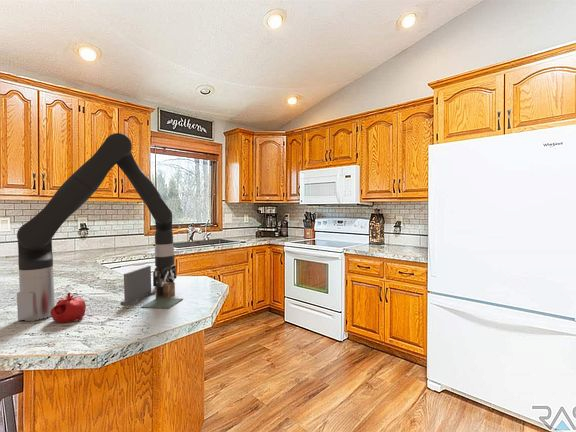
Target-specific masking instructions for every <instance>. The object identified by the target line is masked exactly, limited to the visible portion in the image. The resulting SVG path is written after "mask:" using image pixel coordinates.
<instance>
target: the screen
mask: <svg viewBox="0 0 576 432" xmlns="http://www.w3.org/2000/svg"><path fill="white" fill-rule="evenodd" d="M151 267H152V266H151V265H146V266H143V267H141V268H136V269H134V270H132V271H128V272H126V273H123V291H124V292H123V293H124V299H123V300H122V301H120V305H125V306H129V305H130V306H133V305H135V304H137V301H138V300H140V299H142V298H144V297H147V296H153V295H154V294H155V295H156V290H152V271H151V270H152V268H151Z"/></svg>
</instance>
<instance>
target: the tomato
mask: <svg viewBox="0 0 576 432" xmlns="http://www.w3.org/2000/svg"><path fill="white" fill-rule="evenodd" d="M66 294H67V295H65V296H64V297H65V298H64V297H57V298H56V300H58V299H59V300H58V301H57V302H56V305H55V307H53V308H52V309H51V312H50V313H51V316H50V317H51V318H52V320H53V321H55V322H57V323H62V324H63V323H64V322H65V323H72V321H73V322H75V321H78V320H81V319H83V317H84V316H85V315H86V314H85V313H86V309H87V304H86V302H85V300H84V299H82V298H83V295H79V296H78V295H77V296H76V294H74V293H73V294H72V292H67V293H66ZM71 294H72V295H71ZM74 296H75V297H74Z"/></svg>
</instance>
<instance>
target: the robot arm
mask: <svg viewBox="0 0 576 432" xmlns="http://www.w3.org/2000/svg"><path fill="white" fill-rule="evenodd" d="M132 149H133V145H132V141H131V139H130V138H129V136H128V135H126V134H124V133H121V132H116V133H112V134H109V135H108V136H107V137H106V139H104V141H103V143H101V145H100V147H99V148H98V149H97V150H96V151H95V153H94V154H93V155H92V156H91V157H89V159H88V160H87V161H85V162H84V163H83V164H82V165H80V167H79V168H78V169H76V170H75V171H74V173H72V174H71V175H70V176H69V177H68V178H67V179H66V180H65V181H64V182H63V183H62V184H61V185H60V187H59V188H58V189H57V190H56V192H55V193H54V194H53V195H52V197H51V199H50V200H49V201H48V203H47V204H46V205H45V206H44V207H43V208H42V209H41V211H39V212H38V213H37V214H36V215H35V216H34V217H32V218H31V219H30V220H28V221H27V222H25V223H23V224H22V225H21V226H20V227H19V228H18V230H17V233H16V239H17V248H18V249H17V251H18V259H17V260H18V261H17V262H18V284H19V291H18V292H17V293H16V304H17V306H16V308H17V321H18V320H25V321H24V322H36V321H39V319H40V320H44V319H47V317H48V318H51V317H52V316H51V313H50V312H51V309H52V308H53V307H55V306H56V305H55V281H54V280H55V279H54V258H53V257H54V256H53V240H52V239H53V237H54V235H55V234H56V233H57V232H58V230H59V229H60V228H61V226H63V223H65V222H66V221H67V219H68V218H69V217H70V216H72V215H73V214H74V213H75V212H77V211H78V209H80V208H81V207H82V206H83V205H84V204H85V203H86V202H87V201H88V200H89V199H90V197H92V196H93V195H94V194H95V193H96V191H97V190H98V189H99V187H100V186H101V185H102V183H103V182H104V180H105V179H106V177H107V176H108V174H109V173H110V171H111V169H112V168H113V167H114V166H115V165H117V166H118V168H119V169H120V170H121V171H122V172H123V174H124V175H125V176H126V178H127V179H128V180H129V182H130V183H131V185H132V187H133V188H134V190H135V191H136V193H137V195H138V196H139V198H140V199H141V201H142V202H143V203H144V205H145V206H146V207H147V208H148V211H149V212H150V214H151V216H152V218H153V220H154V224H155V225H154V226H155V232H154V263H155V268H156V267H158V271H154V270H153V272H152V273H153V274H152V284H153V285H152V286H153V287H155V288H156V287H157V295H158V296H163V284H164V282H165V281H166V279H168V282H175V279H177V265H176V264H175V246H174V234H173V212H172V210H171V209H170V208H169V207H168V205H167V204H166V202H165V200H164V199H163V198H162V195H161V194H160V192H159V190H158V189H157V187H156V185H155V184H154V183H153V181H152V180H151V179H150V178H149V177H148V175H147V174H146V173H145V172H144V171H143V170H142V169H141V167H140V166H139V164H138V163H137V162H136V160H135V157H134V156H133V153H132ZM160 278H161V279H160ZM156 280H157V283H156ZM160 282H161V284H160ZM43 318H44V319H43ZM35 320H36V321H35Z"/></svg>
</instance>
